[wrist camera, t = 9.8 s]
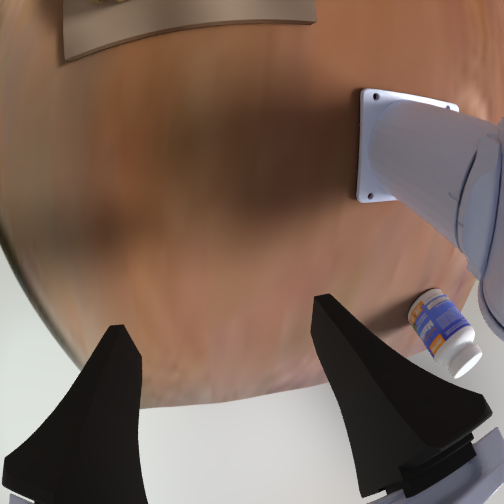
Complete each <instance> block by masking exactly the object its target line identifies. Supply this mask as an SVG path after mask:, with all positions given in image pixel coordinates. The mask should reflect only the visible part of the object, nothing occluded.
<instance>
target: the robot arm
mask: <svg viewBox="0 0 504 504" xmlns="http://www.w3.org/2000/svg"><path fill="white" fill-rule="evenodd" d="M374 93H375V94H376V99H375V100H374V99H373V94H374ZM446 107H447V108H446ZM369 193H371V196H370V197H368V194H369ZM356 197H357V200H358V201H360V202H361V203H370V202H380V201H391V200H399V201H400V202H402V203H403V204H404V205H406V206H407V207H408V208H410V209H411V210H412V211H413V212H415V213H416V214H417V215H419V216H420V217H421V218H422V219H424V220H425V221H426V222H427V223H429V224H430V225H431V226H432V227H433V228H435V229H436V230H437V231H438V232H439V233H440V234H442V235H443V236H444V237H445V238H446V239H447V240H449V241H450V242H451V243H452V244H453V245H454V246H455V247H456V248H458V249H459V250H460V251H461V252H462V253H463V254H464V255H465V256H466V257H467V261H468V265H467V269H468V270H469V271H470V272H471V273H472V274H473V275H474V276H475V277H476V278H477V279H478V280H479V281H480V282H479V286H478V302H479V307H480V310H481V313H482V315H483V318H484V319H485V321H486V323H487V324H488V326H489V327H490V329H491V330H492V331H493V332H494V334H496V335H497V336H498V337H499V338H500V339H501V340H503V341H504V117H503V118H502V119H501V120H500V121H499V123H498V125H496V124H494V123H491V122H488V121H485V120H482V119H479V118H477V117H473V116H470V115H467V114H464V113H461V112H459V108H458V106H457V105H456V104H452V103H448V102H444V101H440V100H435V99H431V98H426V97H421V96H416V95H411V94H405V93H399V92H392V91H385V90H378V89H369V88H365V89H363V90H362V91H361V94H360V147H359V167H358V181H357V194H356ZM311 336H312V339H313V342H314V346H315V349H316V352H317V355H318V358H319V360H320V362H321V365H322V367H323V369H324V371H325V374H326V376H327V378H328V381H329V383H330V385H331V387H332V390H333V392H334V394H335V397H336V399H337V401H338V404H339V407H340V409H341V413H342V416H343V419H344V423H345V426H346V430H347V433H348V437H349V441H350V445H351V449H352V453H353V458H354V463H355V467H356V473H357V479H358V485H359V491H360V494H361V497H362V498H364V497H367V496H370V495H373V494H375V493H378V492H381V491H383V490H386V493H387V495H386V496H384V497H382V498H380V499H377V500H375V501H373V502H370V503H367V504H484V503H485V501H487V500H488V499H489V498H490V497H491V496H492V495H493V494H494V493H495V492H496V491H497V490H498V489H499V488H500V487H501V486H502V485H503V484H504V439H503V437H502V435H501V433H500V431H499V429H498V427H496V428H494V429H493V430H492V431H490V432H489V433H488V434H487V435H485V436H484V437H483V438H481V439H480V440H479V441H477V442H476V443H474V444H472V443H471V441H472V440H473V439H474V437H473V434H472V431H473V430H474V429H476V428H477V427H478V426H480V425H481V424H482V423H483V422H485V421H486V420H487V419H488V418H489V417H491V416H492V410H491V409H490V407H489V405H488V403H487V402H486V400H485V399H484V397H483V395H482V394H478V393H476V392H473V391H470V390H467V389H464V388H461V387H458V386H456V385H454V384H452V383H449V382H447V381H445V380H443V379H441V378H439V377H437V376H435V375H433V374H431V373H429V372H428V371H426V370H424V369H422V368H420V367H419V366H417V365H415V364H414V363H412V362H410V361H409V360H407V359H406V358H404V357H403V356H402V355H400V354H399V353H397V352H396V351H395V350H393V349H392V348H391V347H389V346H388V345H387V344H385V343H384V342H383V341H382V340H380V339H379V338H378V337H377V336H376V335H374V334H373V333H372V332H371V331H370V330H369V329H367V328H366V327H365V326H364V325H363V324H362V323H361V322H359V321H358V320H357V319H356V318H355V317H354V316H353V315H352V314H351V313H350V312H349V311H348V310H347V309H346V308H344V307H343V306H342V305H341V304H340V303H339V302H338V301H337V300H336V299H335V298H334V297H333V296H332V295H331V294H324V295H319V296H314V304H313V314H312V323H311ZM141 387H142V356H141V354H140V353H139V351H138V349H137V348H136V346H135V344H134V342H133V341H132V339H131V337H130V335H129V334H128V332H127V330H126V328H125V326H124V324H123V325H112V326H109V328H108V329H107V331H106V332H105V334H104V335H103V337H102V339H101V340H100V342H99V343H98V345H97V347H96V348H95V350H94V352H93V353H92V355H91V357H90V358H89V360H88V361H87V363H86V365H85V366H84V368H83V370H82V371H81V373H80V374H79V376H78V377H77V379H76V380H75V382H74V383H73V385H72V387H71V388H70V390H69V391H68V392H67V394H66V395H65V397H64V398H63V399H62V401H61V402H60V403H59V405H58V406H57V407H56V408H55V410H54V411H53V412H52V413H51V415H50V416H49V417H48V418H47V419H46V420H45V421H44V422H43V424H42V425H41V426H40V427H39V428H38V429H37V430H36V431H35V432H34V433H33V434H32V435H31V436H30V437H29V438H28V439H27V440H26V441H25V442H24V443H23V444H21V445H20V446H19V447H18V448H17V449H15V450H14V451H13V452H12V453H10V454H9V455H8V456H6V457H5V460H4V468H3V477H2V485H3V486H4V487H6V488H8V489H10V490H11V491H14V492H16V493H18V494H20V495H22V496H24V497H27V498H29V499H31V500H34V503H32V502H29V501H27V500H25V499H23V498H20V497H18V496H16V495H13V494H10V502H9V504H148V501H147V498H146V494H145V489H144V484H143V479H142V473H141V465H140V457H139V445H138V421H139V409H140V398H141Z"/></svg>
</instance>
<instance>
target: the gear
mask: <svg viewBox="0 0 504 504" xmlns="http://www.w3.org/2000/svg"><path fill="white" fill-rule="evenodd" d="M86 1H88V2H90V3H99V4H103V2H104V1H105V0H86ZM117 1H118V2H121V1H124V0H117Z"/></svg>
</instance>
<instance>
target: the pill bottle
mask: <svg viewBox="0 0 504 504" xmlns="http://www.w3.org/2000/svg"><path fill="white" fill-rule="evenodd" d="M408 320H409V322H410V324H411V325H412V327H413V328H414V330H415V331H416V332H417V334H418V335H419V337H420V338H421V340H422V341H423V343H424V344H425V346H426V347H427V349H428V351H429V352H430V354H431V355H432V357H433V358H434V360H435V361H436V363H437V364H438V365H440V366H445V365H448V366H449V367H448V370H449V372H450V373H451V375H452V376H453V378H455V379H456V378H458V377H460V376H462V375H463V374H465V373H466V372H467V371H469V370H470V369H471V368H472V367H473V366H474V365H475V364H476V363H477V361H478V360H479V359H480V357H481V356H482V351H481V350H480V348H479V346H478V345H477V344H473V340H474V336H475V332H474V330H473V328H472V327H471V325H470V324H469V323H468V321H467V320H466V319H465V318H464V316H463V315H462V314H461V313H460V311H459V310H458V309H457V308H456V307H455V305H454V304H453V303H452V302H451V300H450V299H449V298H448V297H447V296H446V295H445V293H444V292H443V291H442V290H440V289H431V290H429V291H427V292H425V293H424V294H422V295H421V296H420V297H419V298H418V299H417V300H416V301H415V302H414V304H413V305H412V307H411V308H410V310H409V313H408Z"/></svg>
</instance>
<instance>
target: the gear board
mask: <svg viewBox="0 0 504 504" xmlns="http://www.w3.org/2000/svg"><path fill="white" fill-rule="evenodd" d="M315 22H317V20H316V10H315V1H314V0H124V1H121V2H118V1H117V0H105V1H104V2H103V4H99V3H90V2H88V1H86V0H63V40H64V56H65V60H68V61H73V60H76V59H78V58H81V57H83V56H86V55H89V54H91V53H94V52H97V51H100V50H103V49H106V48H109V47H112V46H115V45H119V44H122V43H126V42H129V41H133V40H137V39H141V38H145V37H149V36H153V35H158V34H163V33H168V32H173V31H179V30H185V29H192V28H199V27H207V26H217V25H228V24H246V23H288V24H305V25H311V24H313V23H315Z"/></svg>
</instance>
